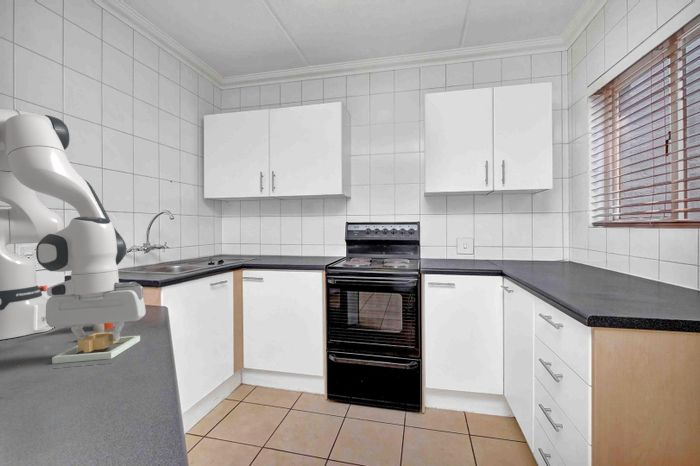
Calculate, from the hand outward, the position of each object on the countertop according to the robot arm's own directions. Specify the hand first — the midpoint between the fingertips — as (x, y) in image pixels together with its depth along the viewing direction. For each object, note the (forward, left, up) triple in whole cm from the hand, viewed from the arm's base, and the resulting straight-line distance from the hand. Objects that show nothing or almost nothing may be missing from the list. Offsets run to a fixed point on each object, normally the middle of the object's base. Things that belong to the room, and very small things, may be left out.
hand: (99, 341), depth 76 cm
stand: (-11, -7, -3) cm, 14 cm away
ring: (0, 0, -1) cm, 1 cm away
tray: (0, 0, -3) cm, 3 cm away
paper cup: (-23, -12, -4) cm, 26 cm away
